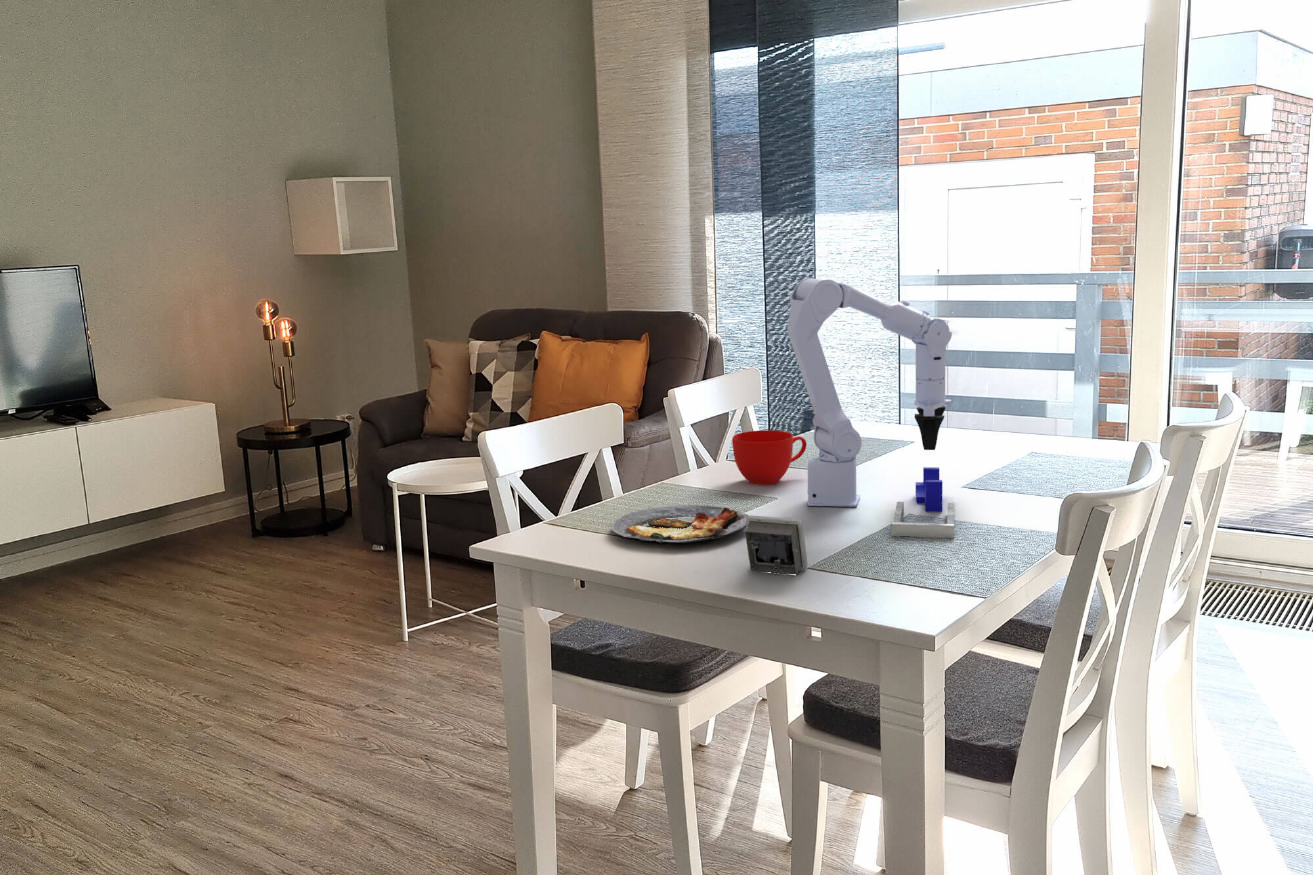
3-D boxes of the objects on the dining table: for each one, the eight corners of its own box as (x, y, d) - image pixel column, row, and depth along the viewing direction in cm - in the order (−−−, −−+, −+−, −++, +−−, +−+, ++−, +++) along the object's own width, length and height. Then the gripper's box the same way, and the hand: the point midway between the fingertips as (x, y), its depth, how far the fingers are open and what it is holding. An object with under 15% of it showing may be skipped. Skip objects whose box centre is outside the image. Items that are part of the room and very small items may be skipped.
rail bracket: (892, 536, 189) (892, 524, 188) (897, 512, 203) (897, 501, 203) (953, 538, 186) (954, 525, 186) (954, 514, 200) (954, 502, 200)
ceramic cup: (821, 481, 230) (820, 435, 229) (750, 491, 224) (748, 444, 223) (792, 469, 242) (791, 426, 240) (723, 479, 236) (722, 434, 234)
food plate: (770, 521, 202) (769, 502, 201) (713, 557, 182) (711, 537, 182) (656, 512, 215) (654, 495, 214) (590, 545, 195) (589, 526, 194)
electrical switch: (808, 569, 173) (805, 515, 171) (799, 582, 169) (795, 527, 166) (753, 564, 177) (750, 511, 175) (742, 577, 173) (738, 522, 170)
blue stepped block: (915, 496, 215) (915, 467, 214) (938, 496, 214) (938, 467, 213) (917, 512, 204) (917, 481, 202) (942, 512, 203) (942, 481, 201)
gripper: (950, 383, 205) (950, 453, 208) (952, 373, 219) (951, 438, 222) (912, 384, 207) (912, 453, 210) (916, 373, 221) (916, 438, 224)
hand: (930, 445), depth 216 cm, fingers open, 7 cm apart
